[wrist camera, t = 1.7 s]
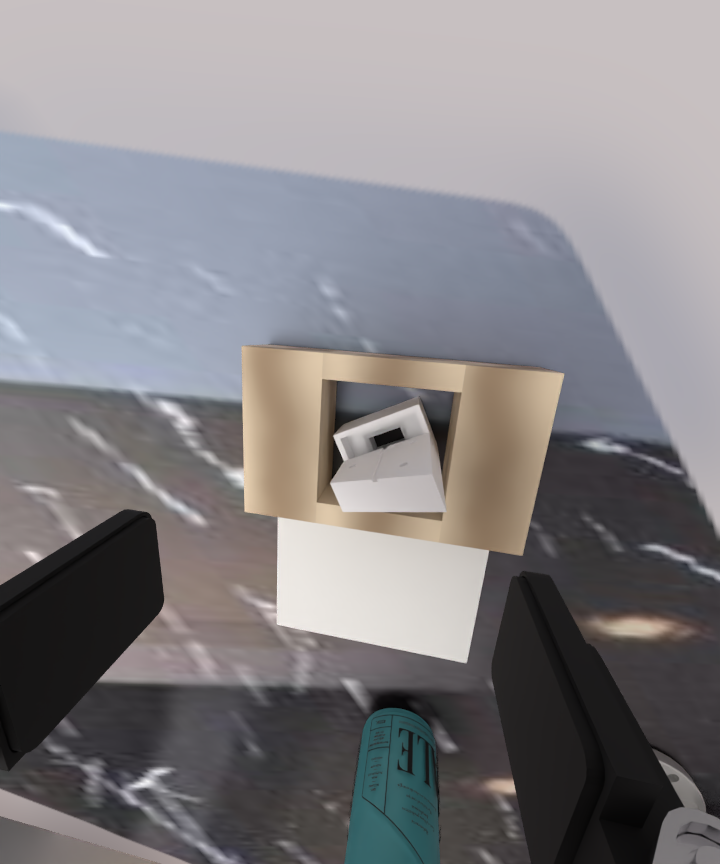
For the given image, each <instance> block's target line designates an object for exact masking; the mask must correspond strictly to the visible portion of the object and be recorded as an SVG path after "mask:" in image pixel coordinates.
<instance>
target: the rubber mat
mask: <svg viewBox="0 0 720 864" xmlns="http://www.w3.org/2000/svg"><path fill="white" fill-rule="evenodd" d="M488 554H489V550H483V549H477V548H470V547H464V546H458V545H451V544H445V543H439V542H432V541H426V540H420V539H413V538H407V537H401V536H394V535H388V534H382V533H375V532H369V531H363V530H357V529H350V528H344V527H338V526H331V525H325V524H319V523H312V522H306V521H300V520H293V519H287V518H281V517H278V559H277V625H281V626H286V627H291V628H296V629H301V630H306V631H311V632H316V633H321V634H325V635H330V636H335V637H340V638H345V639H350V640H355V641H360V642H365V643H370V644H374V645H379V646H384V647H389V648H394V649H399V650H404V651H409V652H414V653H418V654H423V655H428V656H433V657H438V658H443V659H448V660H453V661H458V662H463V663H467V659H468V654H469V649H470V644H471V639H472V634H473V629H474V624H475V619H476V614H477V609H478V604H479V599H480V594H481V589H482V584H483V579H484V574H485V569H486V564H487V559H488Z"/></svg>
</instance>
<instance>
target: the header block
mask: <svg viewBox="0 0 720 864" xmlns="http://www.w3.org/2000/svg"><path fill="white" fill-rule="evenodd" d="M563 378H564V373H560V372H556V371H552V370H548V369H545V368H541V367H531V366H519V365H507V364H495V363H483V362H472V361H460V360H448V359H436V358H424V357H412V356H401V355H389V354H377V353H365V352H353V351H341V350H330V349H318V348H306V347H294V346H282V345H270V344H268V345H248V346H242V390H243V445H244V499H245V512H249V513H255V514H262V515H268V516H274V517H281V518H287V519H293V520H300V521H306V522H312V523H319V524H325V525H331V526H338V527H344V528H350V529H357V530H363V531H369V532H375V533H382V534H388V535H394V536H401V537H407V538H413V539H420V540H426V541H432V542H439V543H445V544H451V545H458V546H464V547H470V548H477V549H483V550H489V551H496V552H502V553H508V554H515V555H521V556H522V555H523V551H524V547H525V542H526V538H527V534H528V529H529V525H530V521H531V516H532V512H533V508H534V503H535V499H536V495H537V490H538V486H539V482H540V477H541V473H542V469H543V464H544V460H545V456H546V451H547V447H548V443H549V438H550V434H551V430H552V425H553V421H554V417H555V412H556V408H557V404H558V399H559V395H560V391H561V386H562V382H563ZM337 380H338V381H348V382H358V383H368V384H379V385H389V386H399V387H410V388H420V389H430V390H440V391H451V392H454V396H453V403H452V410H451V416H450V423H449V430H448V437H447V443H446V450H445V457H444V464H443V471H442V481H443V488H444V496H445V503H446V510H447V512H343V511H342V509H341V507H340V505H339V502H338V500H337V498H336V496H335V493H334V491H333V489H332V487H331V484H330V482H331V481H332V464H333V446H334V437H333V435H334V428H335V410H336V392H337Z"/></svg>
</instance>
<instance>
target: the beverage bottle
mask: <svg viewBox="0 0 720 864" xmlns="http://www.w3.org/2000/svg"><path fill="white" fill-rule="evenodd" d="M360 735H361V734H360ZM435 741H436V740H435V738H434V736H433V733H432V730H431V728H430V727H429V725H428V724H427V723H426V722H425V721H424V720H423V719H422V718H421V717H419V716H418V715H416V714H414V713H412V712H410V711H407V710H404V709H400V708H386V709H381V710H378V711H376V712H374V713H373V714H372V715H371V716H370V717H369V718H368V720H367V721H366V724H365V726H364V729H363V733H362V740H361V741H360V743H361V747H360V751H359V753H360V754H359V753H358V754H359V758H358V759H357V760H358V761H357V762H358V766H357V767H356V770H357V775H356V782H355V783H354V782H353V783H354V784H355V785H354V786H355V789H354V792H353V793H352V794H354V797H353V795H352V797H353V804H352V803H350V804H352V810H351V818H350V817H349V818H350V825H349V835H347V839H348V843H347V850H346V857H345V863H344V864H440V854H439V843H440V840H441V836H440V839H439V832H440V831H439V826H438V817H439V814H440V813H439V800H440V798H438V793H439V790H438V772H439V767H438V758H436V745H435ZM436 744H437V743H436ZM359 746H360V745H359ZM437 748H438V747H437ZM358 749H359V747H358ZM437 752H438V751H437ZM437 755H438V754H437ZM436 759H437V765H436ZM436 768H437V769H436ZM355 774H356V772H355ZM354 777H355V775H354ZM354 780H355V779H354ZM349 810H350V809H349ZM349 815H350V814H349ZM347 828H348V825H347ZM440 830H441V827H440Z"/></svg>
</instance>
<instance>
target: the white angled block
mask: <svg viewBox="0 0 720 864" xmlns="http://www.w3.org/2000/svg"><path fill="white" fill-rule="evenodd" d="M399 427H400V428H401V431H402V433H403V436H404V438H403V439H400V440H397V441H394V442H391V443H388V444H386V445H383V446H380V447H377V444H376V442H375V439H374V436H377V435H380V434H382V433H385V432H388V431H391V430H394V429H397V428H399ZM333 437H334V439H335V442H336V444H337V446H338V449H339V451H340V453H341V456H342V458H343V460H344V462H343V463H342V465H341V467H340V468H339V470H338V471H337V473H336V474H335V476H334V478H333V479H332V481H331V482H330V484H331V487H332V489H333V491H334V493H335V496H336V498H337V500H338V502H339V505H340V507H341V509H342V511H343V512H447V510H446V503H445V496H444V488H443V481H442V474H441V467H440V460H439V452H438V445H437V442H436V439H435V437H434V434H433V431H432V429H431V426H430V423H429V421H428V418H427V415H426V413H425V410H424V407H423V404H422V402H421V399H420V396H418V397H415V398H412V399H410V400H407V401H404V402H402V403H399V404H396V405H394V406H391V407H388V408H385V409H383V410H380V411H377V412H375V413H372V414H369V415H367V416H364V417H361V418H358V419H356V420H353V421H350V422H348V423H345V424H343V425H342V426H341V427H340V428H339V429H338V431H337V432H336V433H335V434H334V435H333Z"/></svg>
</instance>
